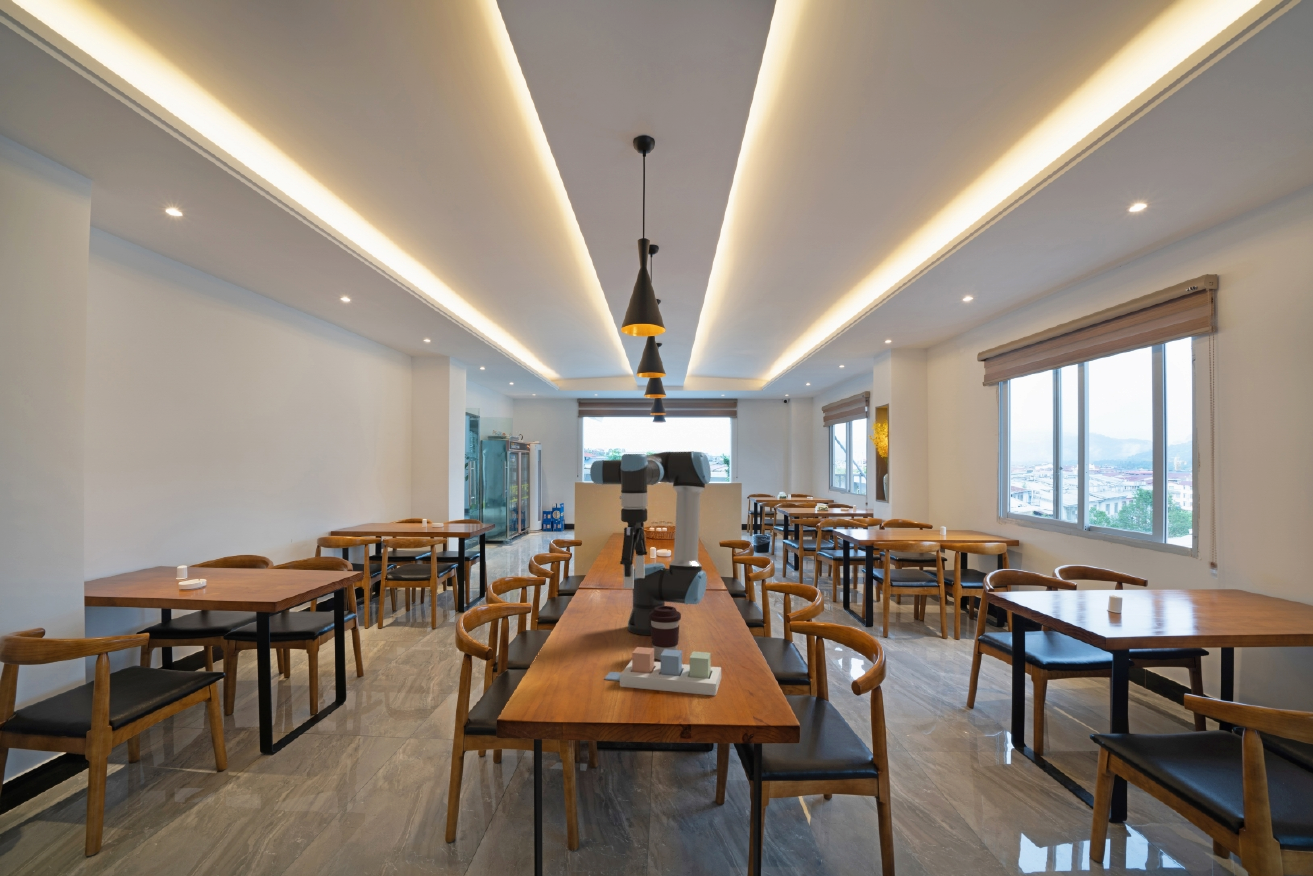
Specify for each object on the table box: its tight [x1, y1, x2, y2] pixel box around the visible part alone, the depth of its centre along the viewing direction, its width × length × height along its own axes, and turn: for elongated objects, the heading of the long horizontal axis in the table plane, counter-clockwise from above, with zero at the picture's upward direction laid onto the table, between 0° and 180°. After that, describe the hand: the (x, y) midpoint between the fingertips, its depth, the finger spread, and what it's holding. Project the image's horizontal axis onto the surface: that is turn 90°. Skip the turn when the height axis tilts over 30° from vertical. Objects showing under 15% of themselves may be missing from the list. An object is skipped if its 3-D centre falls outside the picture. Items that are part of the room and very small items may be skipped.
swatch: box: [604, 671, 622, 682], centre depth 158 cm, size 5×5×1 cm
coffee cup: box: [649, 605, 682, 661], centre depth 175 cm, size 10×10×15 cm
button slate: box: [660, 649, 683, 676], centre depth 155 cm, size 5×5×5 cm
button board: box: [619, 659, 722, 697], centre depth 155 cm, size 12×26×3 cm, turn 77°
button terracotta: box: [631, 646, 655, 673], centre depth 157 cm, size 5×5×5 cm
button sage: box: [689, 651, 712, 679], centre depth 153 cm, size 5×5×5 cm
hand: (634, 582), depth 160 cm, fingers open, 13 cm apart
